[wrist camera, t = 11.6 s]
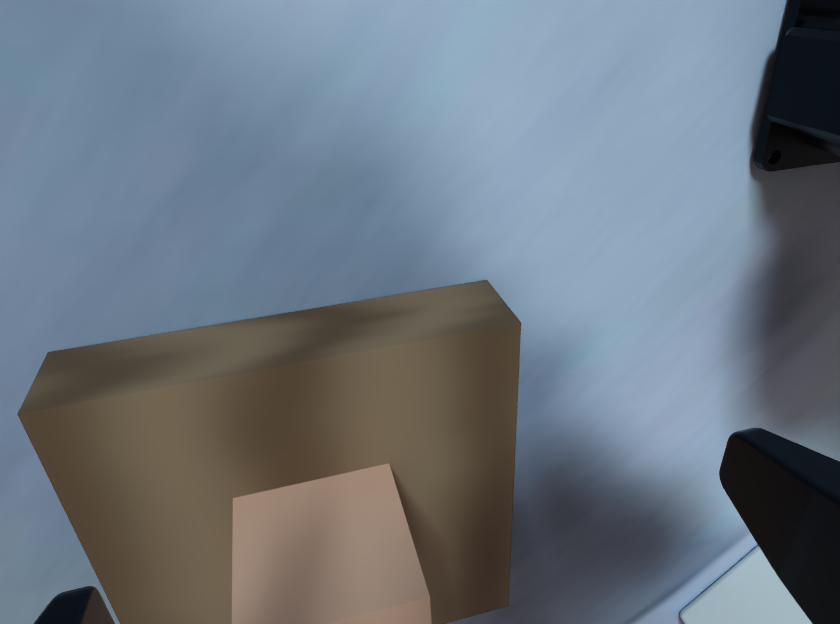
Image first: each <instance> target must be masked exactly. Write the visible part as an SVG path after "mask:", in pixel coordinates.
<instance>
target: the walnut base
mask: <svg viewBox="0 0 840 624" xmlns="http://www.w3.org/2000/svg"><path fill="white" fill-rule="evenodd" d="M520 335H521V322H520V321H519V319H518V318H517V317H516V316H515V314H514V313H513V312H512V311H511V309H510V308H509V307H508V306H507V304H506V303H505V302H504V301H503V299H502V298H501V297H500V296H499V294H498V293H497V292H496V291H495V289H494V288H493V287H492V286H491V284H490V283H489V282H488V281H487V280H483V281H477V282H471V283H465V284H459V285H453V286H447V287H441V288H435V289H429V290H423V291H417V292H411V293H405V294H399V295H392V296H386V297H380V298H374V299H368V300H362V301H356V302H350V303H344V304H338V305H332V306H326V307H320V308H314V309H308V310H302V311H296V312H290V313H283V314H277V315H271V316H265V317H259V318H253V319H247V320H241V321H235V322H229V323H223V324H217V325H211V326H205V327H199V328H193V329H187V330H181V331H174V332H168V333H162V334H156V335H150V336H144V337H138V338H132V339H126V340H120V341H114V342H108V343H102V344H96V345H90V346H84V347H78V348H72V349H65V350H59V351H53V352H48V353H47V355H46V357H45V359H44V361H43V363H42V365H41V367H40V369H39V372H38V374H37V376H36V378H35V380H34V382H33V384H32V386H31V388H30V390H29V392H28V394H27V396H26V398H25V400H24V402H23V404H22V406H21V408H20V410H19V412H18V416H19V418H20V420H21V423H22V425H23V427H24V429H25V431H26V433H27V435H28V437H29V439H30V441H31V443H32V445H33V447H34V449H35V451H36V453H37V455H38V457H39V459H40V461H41V463H42V465H43V467H44V469H45V471H46V473H47V475H48V477H49V479H50V482H51V484H52V486H53V488H54V490H55V492H56V494H57V496H58V498H59V500H60V502H61V504H62V506H63V508H64V510H65V512H66V514H67V516H68V518H69V520H70V522H71V524H72V526H73V528H74V530H75V532H76V534H77V536H78V539H79V541H80V543H81V545H82V547H83V549H84V551H85V553H86V555H87V557H88V559H89V561H90V563H91V565H92V567H93V569H94V571H95V573H96V575H97V577H98V579H99V581H100V583H101V585H102V587H103V589H104V591H105V593H106V595H107V598H108V600H109V602H110V604H111V606H112V608H113V610H114V612H115V614H116V616H117V618H118V620H119V622H120V624H232V535H233V498H236V497H241V496H245V495H250V494H254V493H259V492H263V491H268V490H272V489H277V488H281V487H285V486H290V485H294V484H299V483H303V482H308V481H312V480H317V479H321V478H326V477H330V476H335V475H339V474H344V473H348V472H353V471H357V470H361V469H366V468H370V467H375V466H379V465H384V464H388V463H389V464H390V468H391V471H392V474H393V478H394V481H395V484H396V487H397V491H398V494H399V497H400V500H401V504H402V507H403V510H404V514H405V517H406V520H407V523H408V527H409V530H410V533H411V536H412V540H413V543H414V546H415V550H416V553H417V556H418V559H419V563H420V566H421V569H422V572H423V576H424V579H425V582H426V586H427V589H428V592H429V595H430V607H431V622H432V624H445V623H448V622H452V621H456V620H459V619H463V618H466V617H470V616H474V615H477V614H481V613H484V612H488V611H491V610H495V609H499V608H502V607H506V606H508V601H509V579H510V556H511V534H512V512H513V490H514V468H515V446H516V423H517V401H518V379H519V357H520Z"/></svg>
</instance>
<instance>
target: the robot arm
mask: <svg viewBox="0 0 840 624" xmlns="http://www.w3.org/2000/svg"><path fill="white" fill-rule="evenodd" d="M772 152H773V154H772V156H771V158H770V159H769V160H768V158H769V156H770V154H771V153H772ZM834 162H840V0H791V1H790V5H789V9H788V14H787V18H786V22H785V27H784V31H783V35H782V39H781V44H780V48H779V52H778V56H777V61H776V65H775V69H774V73H773V78H772V82H771V86H770V90H769V95H768V99H767V103H766V107H765V112H764V116H763V120H762V125H761V129H760V133H759V137H758V142H757V146H756V150H755V154H754V163H755V165H756V166H757V167H758V168H760V169H763V170H766V171H778V170H785V169H792V168H799V167H806V166H813V165H820V164H827V163H834ZM719 475H720V481H721V483H722V486H723V488H724V490H725V491H726V493H727V495H728V496H729V498H730V500H731V501H732V503H733V505H734V506H735V508H736V509H737V511H738V513H739V514H740V516H741V518H742V519H743V521H744V523H745V524H746V526H747V527H748V529H749V531H750V532H751V534H752V536H753V537H754V539H755V541H756V542H757V544H758V545H759V547H760V549H761V550H762V552H763V554H764V555H765V557H766V559H767V560H768V562H769V563H770V565H771V567H772V568H773V570H774V571H775V573H776V574H777V576H778V577H779V579H780V580H781V582H782V583H783V584H784V586H785V587H786V589H787V590H788V591H789V593H790V594H791V596H792V597H793V598H794V600H795V601H796V602H797V604H798V605H799V606H800V608H801V609H802V610H803V612H804V613H805V614H806V616H807V617H808V618H809V620H810V621H811V623H812V624H840V462H839V461H837V460H834V459H832V458H830V457H827V456H825V455H823V454H820V453H818V452H816V451H813V450H811V449H809V448H806V447H804V446H802V445H799V444H797V443H795V442H792V441H790V440H787V439H785V438H783V437H780V436H778V435H776V434H773V433H771V432H769V431H766V430H764V429H761V428H750V429H746V430H742V431H737V432H734V433H733V434H732V435H731V436H730V437H729V439H728V442H727V445H726V449H725V452H724V456H723V460H722V463H721V467H720V471H719ZM34 624H115V623H114V621H113V619H112V617H111V615H110V613H109V611H108V609H107V607H106V605H105V603H104V601H103V599H102V597H101V595H100V593H99V591H98V590H97V589H96V588H95V587H93V586H87V587H83V588H78V589H74V590H70V591H66V592H63V593H60V594H58V595H57V596H56V597H55V598H53V599H52V601H51V602H50V603H49V604H48V606H47V607H46V608H45V610H44V611H43V612H42V613H41V615H40V616H39V617H38V619H37V620H36V621H35V623H34Z"/></svg>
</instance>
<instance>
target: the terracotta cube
mask: <svg viewBox="0 0 840 624" xmlns="http://www.w3.org/2000/svg"><path fill="white" fill-rule="evenodd" d="M232 624H432V622H431V607H430V595H429V592H428V589H427V586H426V582H425V579H424V576H423V572H422V569H421V566H420V563H419V559H418V556H417V553H416V550H415V546H414V543H413V540H412V536H411V533H410V530H409V527H408V523H407V520H406V517H405V514H404V510H403V507H402V504H401V500H400V497H399V494H398V491H397V487H396V484H395V481H394V478H393V474H392V471H391V468H390V464H389V463H388V464H384V465H379V466H375V467H370V468H366V469H361V470H357V471H353V472H348V473H344V474H339V475H335V476H330V477H326V478H321V479H317V480H312V481H308V482H303V483H299V484H294V485H290V486H285V487H281V488H277V489H272V490H268V491H263V492H259V493H254V494H250V495H245V496H241V497H236V498H233V535H232Z"/></svg>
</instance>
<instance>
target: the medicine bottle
mask: <svg viewBox="0 0 840 624" xmlns="http://www.w3.org/2000/svg"><path fill="white" fill-rule="evenodd" d="M680 617H681V619H682V621H683V622H684V624H812V623H811V621H810V620H809V618H808V617H807V616H806V614H805V613H804V612H803V610H802V609H801V608H800V606H799V605H798V604H797V602H796V601H795V600H794V598H793V597H792V596H791V594H790V593H789V591H788V590H787V589H786V587H785V586H784V584H783V583H782V582H781V580H780V579H779V577H778V576H777V574H776V573H775V571H774V570H773V568H772V567H771V565H770V563H769V562H768V560H767V559H766V557H765V555H764V554H763V552H762V550H761V549H760V547H759V545H758V546H757V547H755V548H754V549H753V550H752V551H751V552H750V553H748V554H747V555H746V556H745V557H744V558H743V559H741V560H740V561H739V562H738V563H737V564H735V565H734V566H733V567H732V568H731V569H730V570H728V571H727V572H726V573H725V574H724V575H723V576H721V577H720V578H719V579H718V580H717V581H716V582H714V583H713V584H712V585H711V586H710V587H708V588H707V589H706V590H705V591H704V592H703V593H701V594H700V595H699V596H698V597H697V598H696V599H694V600H693V601H692V602H691V603H690V604H689V605H687V606H686V607H685V608H684V609H683V610H682V611H681V612H680Z"/></svg>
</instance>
